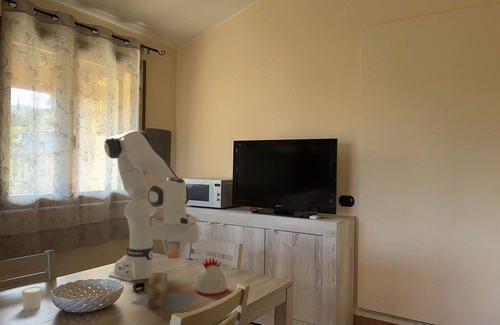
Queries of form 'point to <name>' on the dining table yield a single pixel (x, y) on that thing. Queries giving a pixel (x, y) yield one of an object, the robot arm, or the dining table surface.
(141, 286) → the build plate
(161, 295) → the block lower
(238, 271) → the dining table surface
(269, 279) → the dining table surface
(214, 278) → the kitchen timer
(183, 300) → the mat
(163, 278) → the block upper
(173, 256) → the drum
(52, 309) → the dining table surface
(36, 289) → the white cylinder
